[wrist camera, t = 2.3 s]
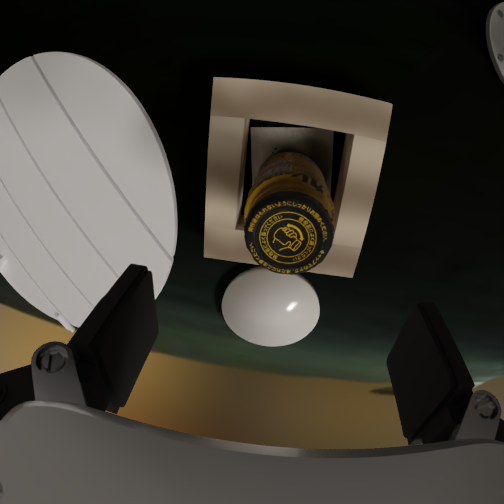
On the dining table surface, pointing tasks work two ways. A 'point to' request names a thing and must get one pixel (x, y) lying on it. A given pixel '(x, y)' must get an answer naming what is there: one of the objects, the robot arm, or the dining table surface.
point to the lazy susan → (79, 185)
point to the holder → (301, 113)
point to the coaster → (270, 307)
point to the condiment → (290, 198)
